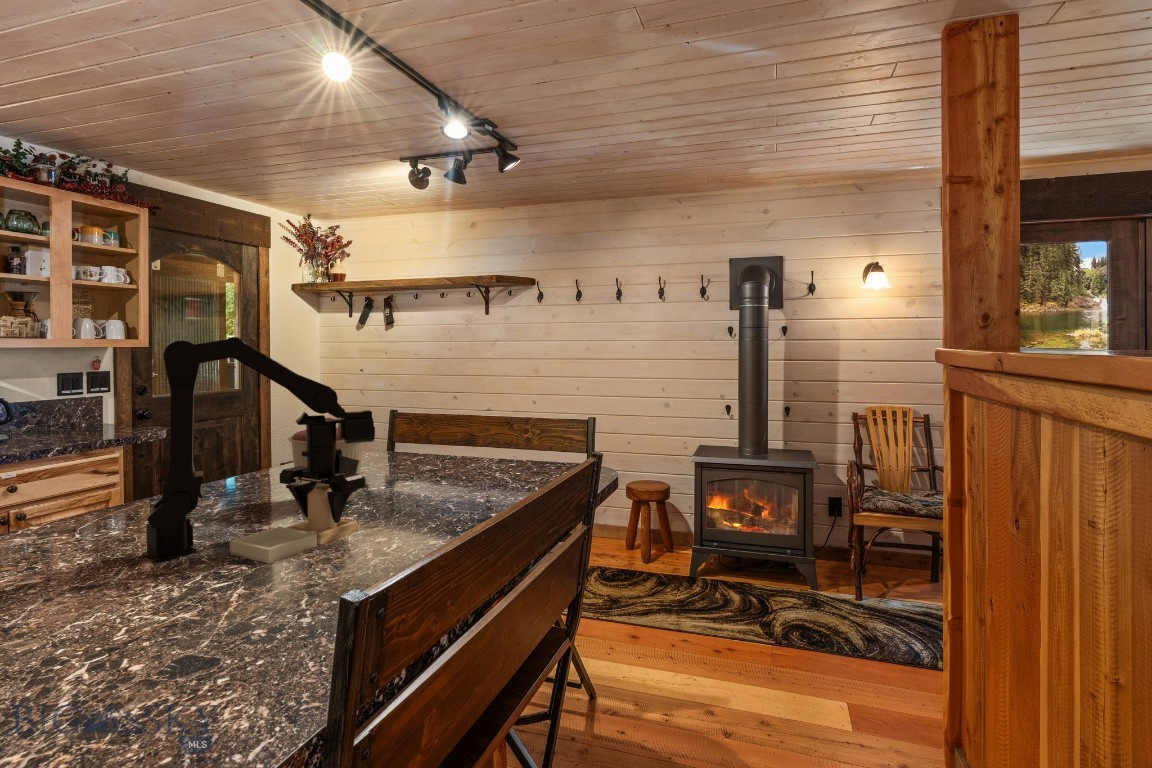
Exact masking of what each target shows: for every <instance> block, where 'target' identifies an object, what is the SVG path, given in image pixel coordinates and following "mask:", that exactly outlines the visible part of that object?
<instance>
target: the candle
mask: <svg viewBox="0 0 1152 768" xmlns="http://www.w3.org/2000/svg"><path fill="white" fill-rule="evenodd" d="M330 491H332V490H331V489H330V487H329V486H323V487H321V486H316V488H314V489H313V490H312V491H311V492H310V493H309V494H308V518H307V521H308V530H314V531H319V532H322V531H325V530H329V529H332V528H335V527H337V523H334V521H333V518H332V514H331V509H330V505H329V501H328V496H327V492H330Z"/></svg>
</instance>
